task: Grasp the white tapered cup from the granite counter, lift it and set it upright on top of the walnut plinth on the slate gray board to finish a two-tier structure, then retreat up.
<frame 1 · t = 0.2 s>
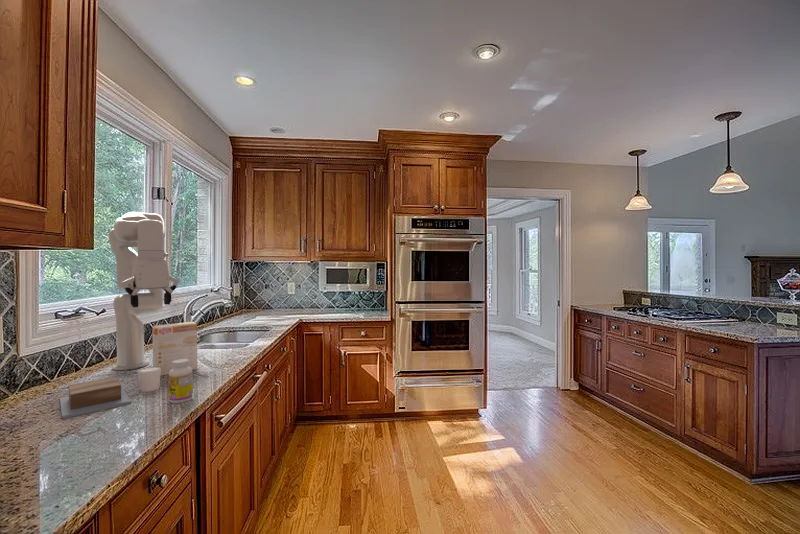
hand: (151, 305, 124), 30 cm above the table, tool pointing down, fingers open, 9 cm apart
coffeecake box: (175, 371, 149), on the table
slate gray board: (95, 401, 116), on the table
walnut plinth: (94, 392, 116), on the slate gray board, point 3 cm above the table
white tapered cup: (149, 389, 128), on the table
supplement bottle: (180, 400, 117), on the table
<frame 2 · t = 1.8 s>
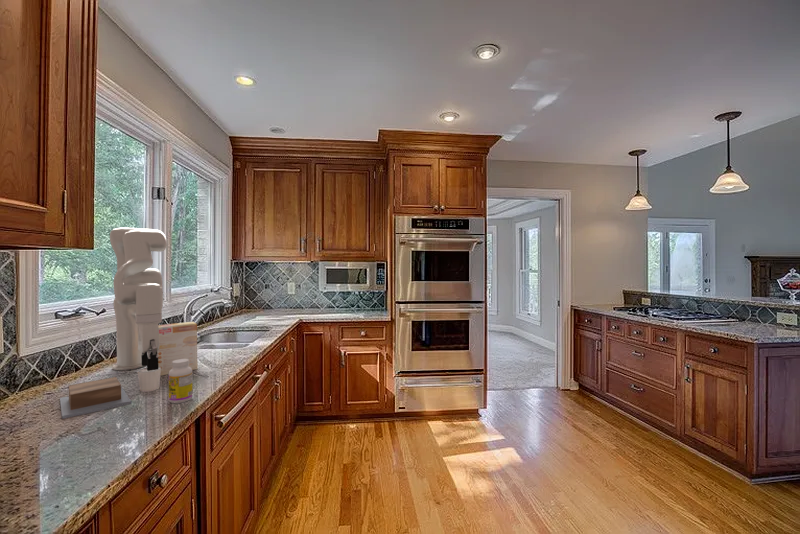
hand: (149, 367, 127), 8 cm above the table, tool pointing down, fingers open, 9 cm apart
nothing on the table moved.
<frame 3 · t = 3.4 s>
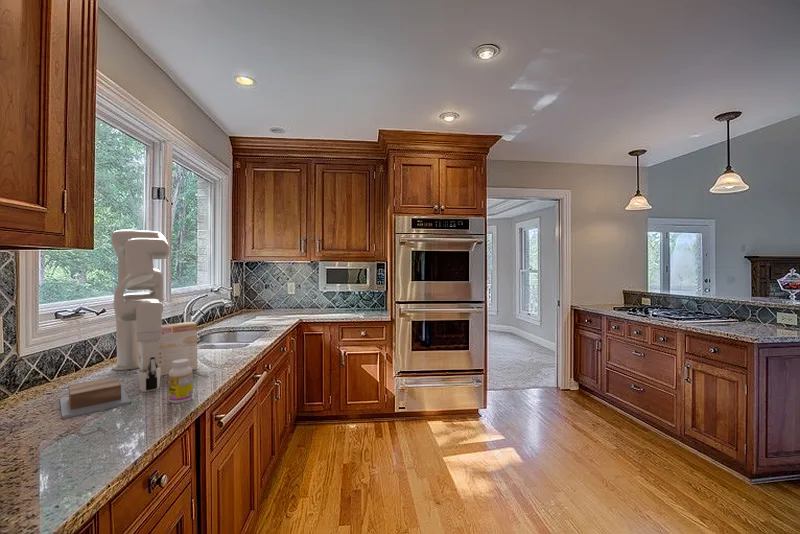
hand: (149, 386, 128), 1 cm above the table, tool pointing down, fingers closed on white tapered cup, 5 cm apart
white tapered cup: (149, 389, 128), on the table, touching gripper
everything else where it was.
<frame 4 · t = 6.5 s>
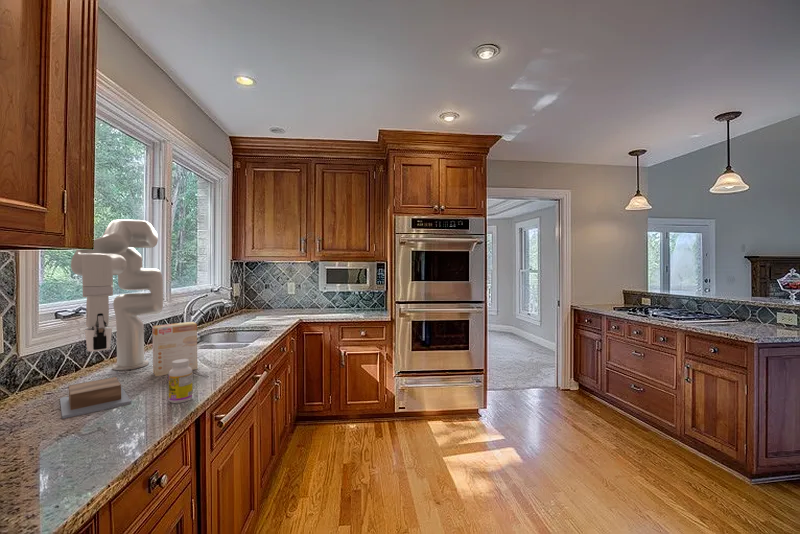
hand: (98, 346, 116), 18 cm above the table, tool pointing down, fingers closed on white tapered cup, 5 cm apart
white tapered cup: (98, 350, 116), point 17 cm above the table, touching gripper
everything else where it was.
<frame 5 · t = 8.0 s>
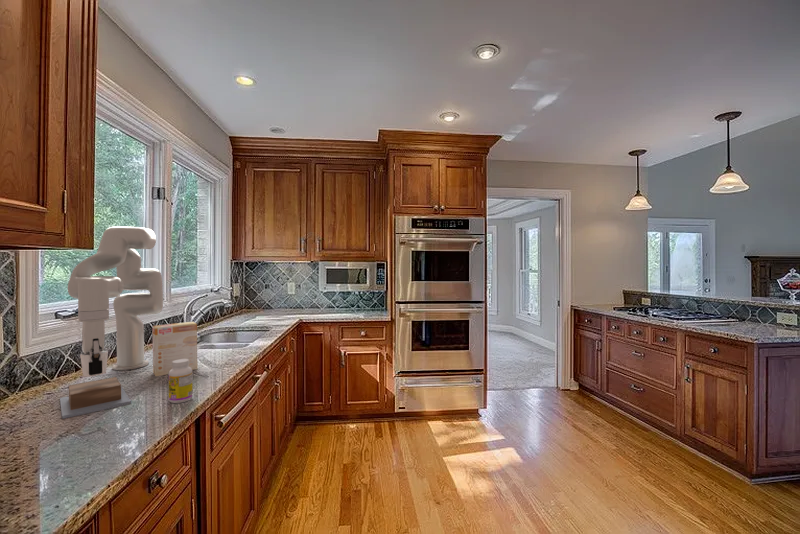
hand: (94, 371, 115), 10 cm above the table, tool pointing down, fingers closed on white tapered cup, 5 cm apart
white tapered cup: (94, 374, 115), point 9 cm above the table, touching gripper
everything else where it was.
when the fingers open (8 cm above the table, at t = 9.4 s): white tapered cup drops 1 cm, resting on walnut plinth.
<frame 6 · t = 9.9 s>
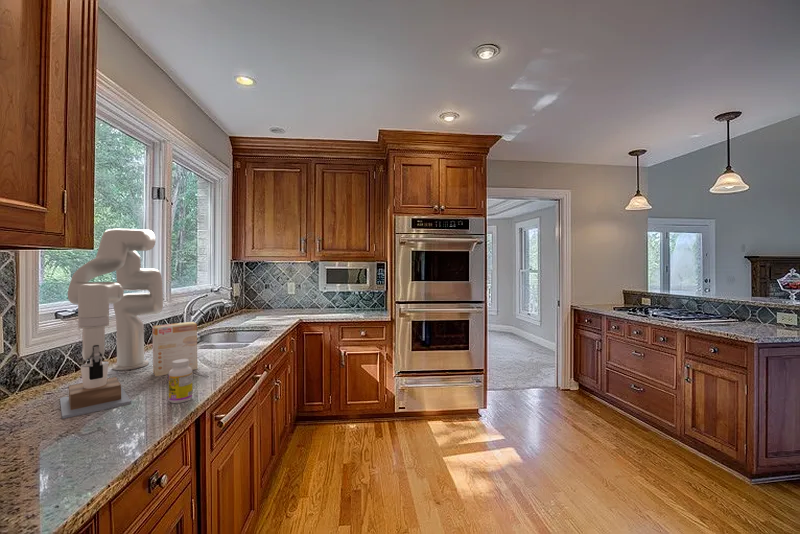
hand: (94, 375, 116), 9 cm above the table, tool pointing down, fingers open, 9 cm apart
white tapered cup: (95, 386, 115), point 5 cm above the table, touching walnut plinth
everything else where it was.
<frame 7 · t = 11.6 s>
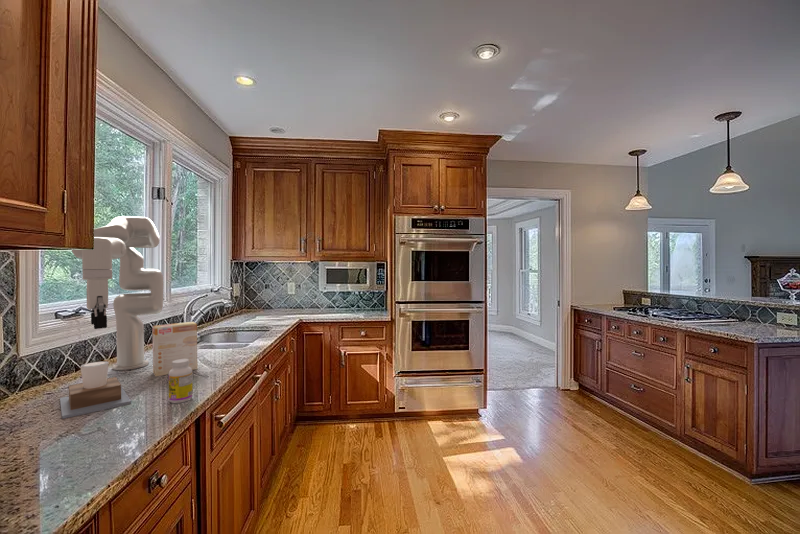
hand: (98, 326, 120), 24 cm above the table, tool pointing down, fingers open, 9 cm apart
nothing on the table moved.
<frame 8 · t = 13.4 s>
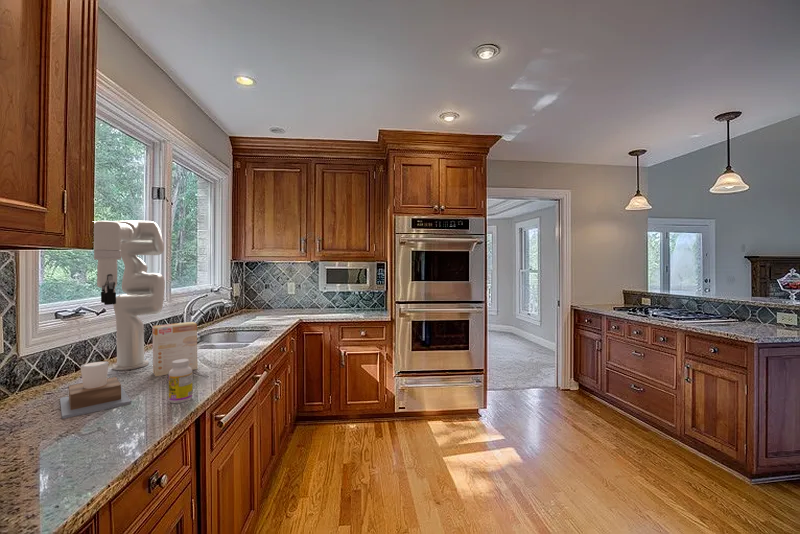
hand: (108, 303, 129), 30 cm above the table, tool pointing down, fingers open, 9 cm apart
nothing on the table moved.
at the end: white tapered cup inside the target area on the walnut plinth (0.5 cm from its centre), point 5.2 cm above the walnut plinth's base; white tapered cup tilted 0°; the gripper is holding nothing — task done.
